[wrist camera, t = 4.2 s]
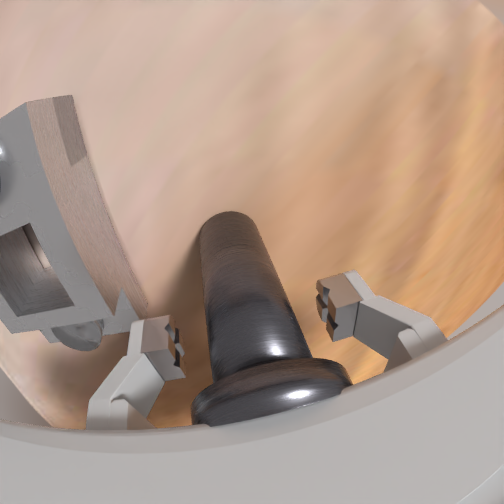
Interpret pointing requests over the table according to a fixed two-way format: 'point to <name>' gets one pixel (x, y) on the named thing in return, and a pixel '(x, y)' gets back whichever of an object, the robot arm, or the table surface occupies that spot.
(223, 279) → the pin
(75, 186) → the slotted ball-knob block
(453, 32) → the table surface
